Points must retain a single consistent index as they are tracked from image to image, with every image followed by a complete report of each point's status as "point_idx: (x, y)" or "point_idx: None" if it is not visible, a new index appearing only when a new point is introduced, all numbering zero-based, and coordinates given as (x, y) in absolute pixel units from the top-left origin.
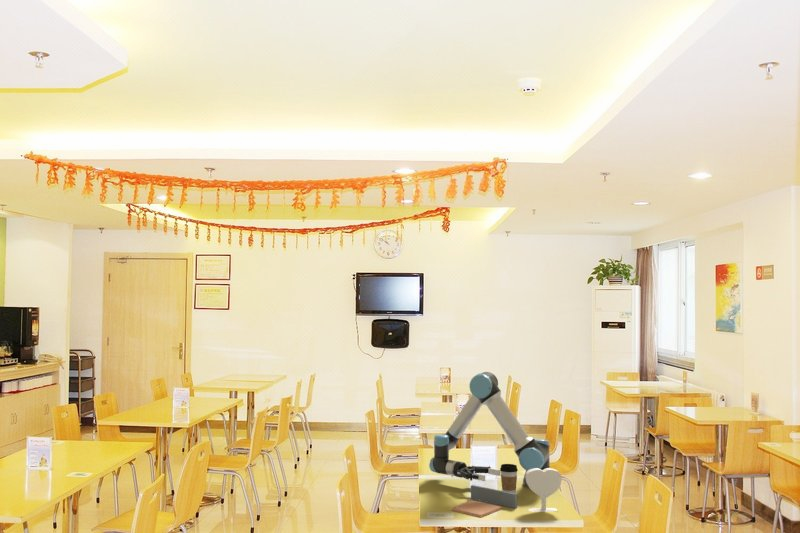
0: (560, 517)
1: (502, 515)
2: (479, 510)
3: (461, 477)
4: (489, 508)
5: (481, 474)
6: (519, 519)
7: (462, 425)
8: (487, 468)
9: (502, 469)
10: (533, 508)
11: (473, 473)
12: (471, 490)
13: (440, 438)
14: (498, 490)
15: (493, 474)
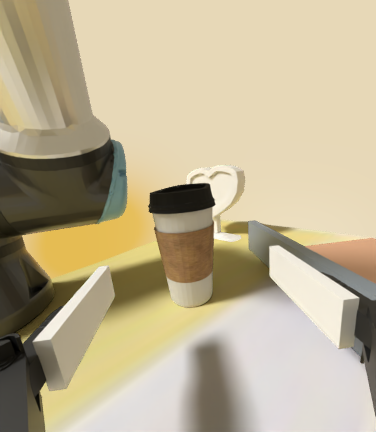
0: (224, 223)
1: (309, 239)
2: (371, 249)
3: None
4: (332, 249)
5: (285, 257)
6: (287, 228)
7: None
8: (26, 365)
9: (213, 198)
10: (228, 237)
11: (353, 294)
12: None
13: None
14: (275, 235)
15: (95, 330)
